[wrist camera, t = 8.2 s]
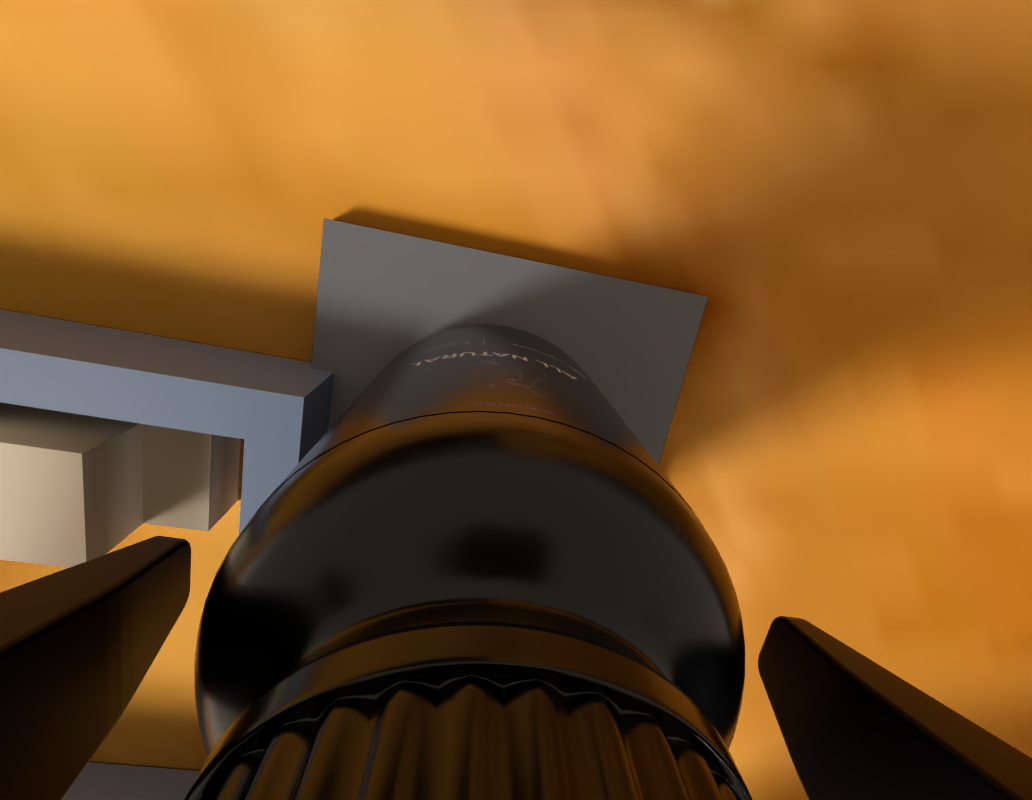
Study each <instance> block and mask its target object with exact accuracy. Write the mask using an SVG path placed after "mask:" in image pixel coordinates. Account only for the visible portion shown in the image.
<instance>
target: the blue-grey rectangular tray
mask: <svg viewBox="0 0 1032 800" xmlns="http://www.w3.org/2000/svg"><path fill="white" fill-rule="evenodd" d="M333 377H334V372H330V371H324V370H318V369H312V368H311V362H307V361H301V360H295V359H289V358H283V357H277V356H272V355H266V354H260V353H254V352H248V351H242V350H236V349H231V348H225V347H219V346H213V345H207V344H201V343H196V342H190V341H184V340H178V339H172V338H166V337H160V336H155V335H149V334H143V333H137V332H131V331H125V330H119V329H114V328H108V327H102V326H96V325H90V324H84V323H79V322H73V321H67V320H61V319H55V318H49V317H43V316H38V315H32V314H26V313H20V312H14V311H8V310H2V309H0V402H1V403H8V404H14V405H21V406H28V407H34V408H41V409H47V410H54V411H61V412H67V413H74V414H80V415H87V416H94V417H100V418H107V419H113V420H120V421H127V422H133V423H140V424H146V425H153V426H160V427H166V428H173V429H179V430H186V431H193V432H199V433H206V434H212V435H219V436H226V437H232V438H239V439H244V456H243V474H242V493H241V511H240V529H239V535H240V533H241V532H242V531H243V529H244V528H245V526H246V525H247V524H248V522H249V521H250V519H251V518H252V517H253V516H254V514H255V513H256V512H257V510H258V509H259V507H260V506H261V505H262V504H263V503H264V502H265V500H266V499H267V498H268V497H269V496H270V495H271V494H272V493H273V491H274V490H275V489H276V488H277V487H278V486H279V485H280V484H281V482H282V481H283V480H284V479H285V478H286V477H287V476H288V475H289V473H290V472H291V471H292V470H293V469H294V468H295V467H296V466H297V465H298V463H299V462H300V461H301V460H302V459H303V458H304V457H305V456H306V454H307V453H308V452H309V451H310V450H311V449H312V448H313V447H314V446H315V444H316V443H317V442H318V441H319V440H320V439H321V438H322V437H323V435H324V434H325V433H326V432H327V431H328V426H329V417H330V407H331V397H332V387H333ZM199 772H200V771H195V770H182V769H169V768H156V767H143V766H130V765H117V764H104V763H92V762H88V763H87V765H86V766H85V767H84V769H83V770H82V772H81V773H80V774H79V776H78V777H77V779H76V780H75V781H74V783H73V784H72V786H71V787H70V788H69V790H68V791H67V793H66V794H65V795H64V797H63V798H62V800H184V799H185V797H186V795H187V793H188V791H189V790H190V788H191V786H192V784H193V783H194V781H195V779H196V777H197V775H198V774H199Z"/></svg>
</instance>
